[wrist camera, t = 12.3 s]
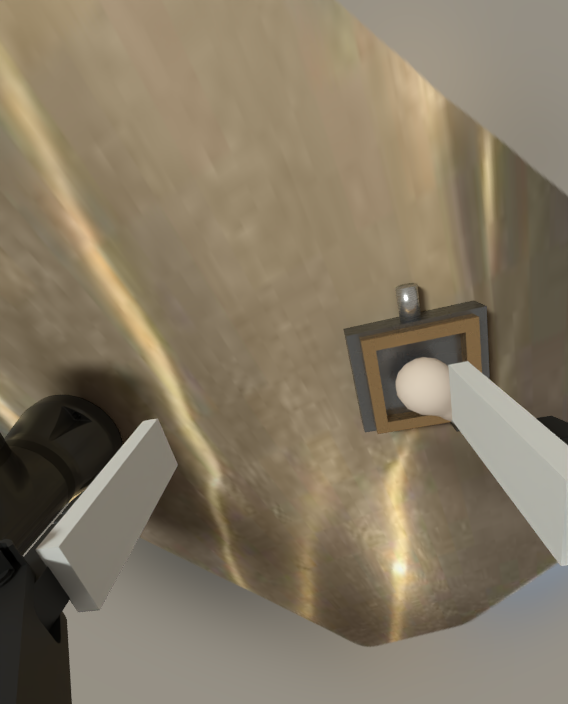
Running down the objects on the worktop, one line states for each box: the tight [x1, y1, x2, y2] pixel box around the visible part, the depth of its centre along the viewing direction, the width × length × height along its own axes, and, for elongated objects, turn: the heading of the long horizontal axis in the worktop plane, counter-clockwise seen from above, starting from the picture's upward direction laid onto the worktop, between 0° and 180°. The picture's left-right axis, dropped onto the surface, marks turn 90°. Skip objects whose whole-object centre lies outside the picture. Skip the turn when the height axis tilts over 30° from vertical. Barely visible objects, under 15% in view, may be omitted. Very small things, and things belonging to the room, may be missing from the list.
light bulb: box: [395, 357, 454, 423], centre depth 38 cm, size 7×7×11 cm
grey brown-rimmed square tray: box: [344, 283, 490, 434], centre depth 41 cm, size 16×21×4 cm
